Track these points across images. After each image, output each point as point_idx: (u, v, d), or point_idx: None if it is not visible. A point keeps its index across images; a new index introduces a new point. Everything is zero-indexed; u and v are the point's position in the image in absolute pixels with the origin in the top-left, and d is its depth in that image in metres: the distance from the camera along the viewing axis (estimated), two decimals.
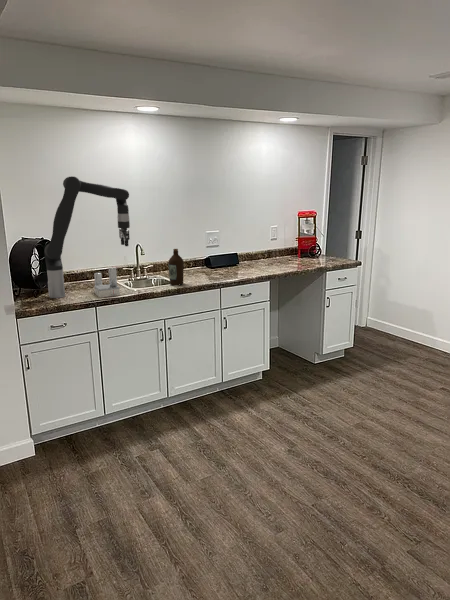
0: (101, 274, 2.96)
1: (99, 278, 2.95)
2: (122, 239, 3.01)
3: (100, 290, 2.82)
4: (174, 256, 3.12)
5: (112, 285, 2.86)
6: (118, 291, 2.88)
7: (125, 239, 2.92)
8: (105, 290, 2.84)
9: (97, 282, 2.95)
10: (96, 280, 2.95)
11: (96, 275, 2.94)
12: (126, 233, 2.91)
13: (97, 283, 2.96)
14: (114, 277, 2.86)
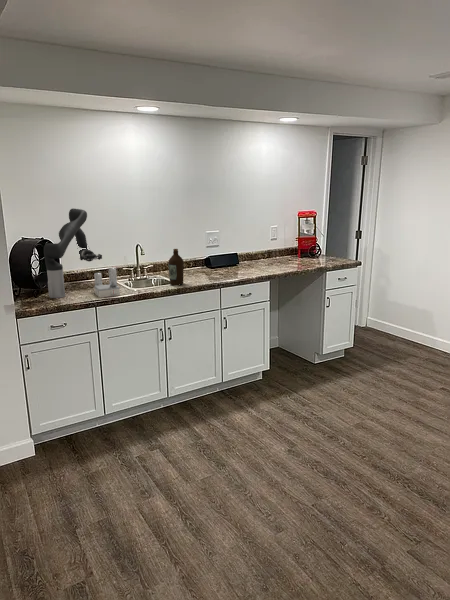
0: (101, 274, 2.96)
1: (99, 278, 2.95)
2: None
3: (100, 290, 2.82)
4: (174, 256, 3.12)
5: (112, 285, 2.86)
6: (118, 291, 2.88)
7: (100, 255, 3.10)
8: (105, 290, 2.84)
9: (97, 282, 2.95)
10: (96, 280, 2.95)
11: (96, 275, 2.94)
12: None
13: (97, 283, 2.96)
14: (114, 277, 2.86)
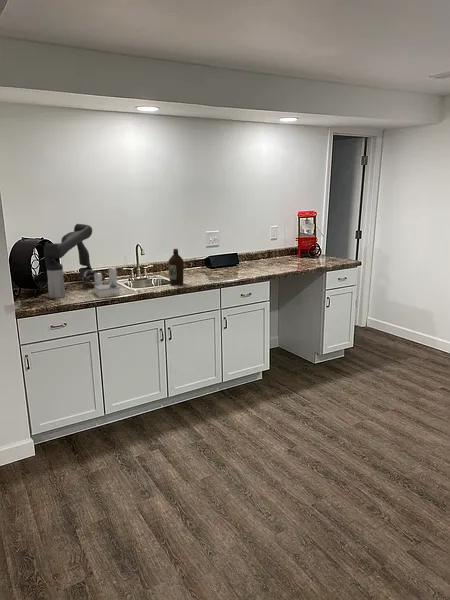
0: (101, 274, 2.96)
1: (99, 278, 2.95)
2: None
3: (100, 290, 2.82)
4: (174, 256, 3.12)
5: (112, 285, 2.86)
6: (118, 291, 2.88)
7: (103, 276, 3.09)
8: (105, 290, 2.84)
9: (97, 282, 2.95)
10: (96, 280, 2.95)
11: (96, 275, 2.94)
12: None
13: (97, 283, 2.96)
14: (114, 277, 2.86)
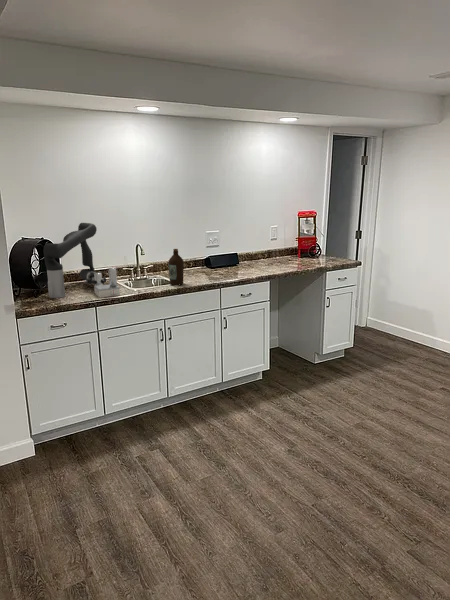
0: (101, 274, 2.96)
1: (99, 278, 2.95)
2: None
3: (100, 290, 2.82)
4: (174, 256, 3.12)
5: (112, 285, 2.86)
6: (118, 291, 2.88)
7: (104, 278, 3.01)
8: (105, 290, 2.84)
9: (97, 282, 2.95)
10: (96, 280, 2.95)
11: (96, 275, 2.94)
12: (105, 278, 3.05)
13: (97, 283, 2.96)
14: (114, 277, 2.86)
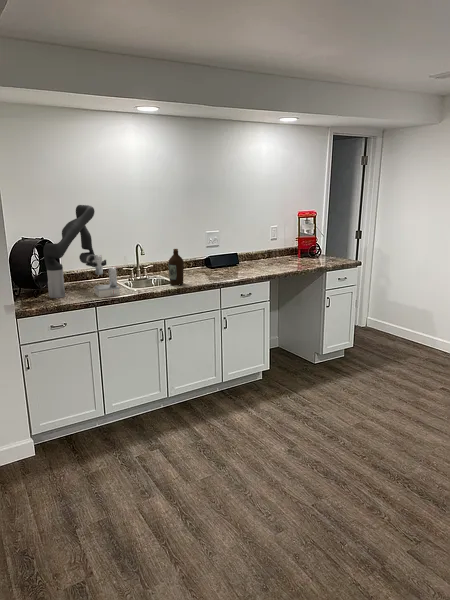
0: (101, 256, 2.90)
1: (100, 261, 2.89)
2: None
3: (100, 290, 2.82)
4: (174, 256, 3.12)
5: (112, 285, 2.86)
6: (118, 291, 2.88)
7: (104, 261, 2.94)
8: (105, 290, 2.84)
9: (97, 264, 2.89)
10: (96, 262, 2.88)
11: (96, 257, 2.88)
12: None
13: (97, 265, 2.89)
14: (114, 277, 2.86)
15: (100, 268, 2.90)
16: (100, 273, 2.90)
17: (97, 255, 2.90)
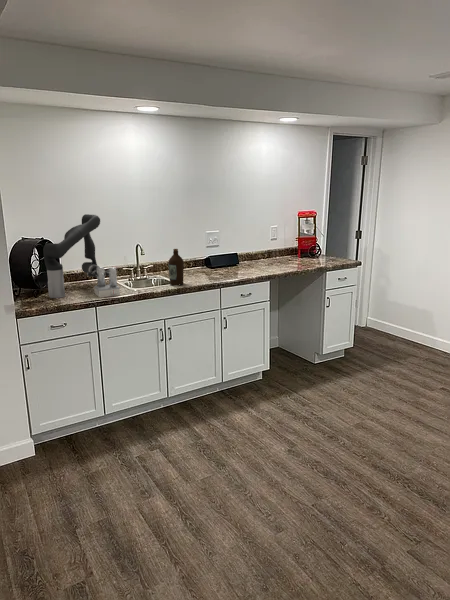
0: None
1: (102, 273, 2.87)
2: None
3: (100, 290, 2.82)
4: (174, 256, 3.12)
5: (112, 285, 2.86)
6: (118, 291, 2.88)
7: (108, 271, 2.94)
8: (105, 290, 2.84)
9: (99, 277, 2.87)
10: (98, 274, 2.87)
11: (99, 269, 2.86)
12: None
13: (99, 278, 2.88)
14: (114, 277, 2.86)
15: (102, 280, 2.88)
16: (102, 285, 2.89)
17: (99, 267, 2.88)
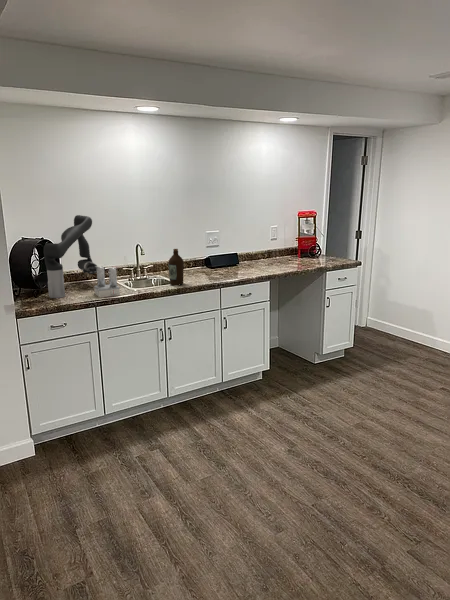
0: None
1: (102, 273, 2.87)
2: None
3: (100, 290, 2.82)
4: (174, 256, 3.12)
5: (112, 285, 2.86)
6: (118, 291, 2.88)
7: None
8: (105, 290, 2.84)
9: (99, 277, 2.87)
10: (98, 274, 2.87)
11: (98, 269, 2.86)
12: None
13: (99, 278, 2.88)
14: (114, 277, 2.86)
15: (102, 280, 2.89)
16: (102, 285, 2.89)
17: (99, 267, 2.88)
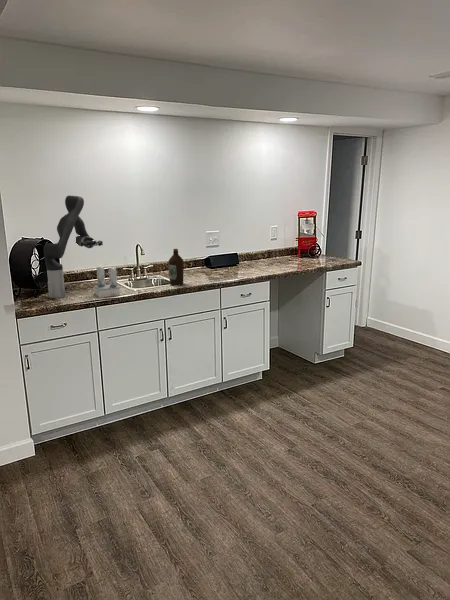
0: None
1: (102, 273, 2.87)
2: None
3: (100, 290, 2.82)
4: (174, 256, 3.12)
5: (112, 285, 2.86)
6: (118, 291, 2.88)
7: (101, 241, 3.03)
8: (105, 290, 2.84)
9: (99, 276, 2.87)
10: (98, 274, 2.87)
11: (98, 269, 2.86)
12: None
13: (99, 277, 2.88)
14: (114, 277, 2.86)
15: (102, 280, 2.89)
16: (102, 285, 2.89)
17: (99, 267, 2.89)
